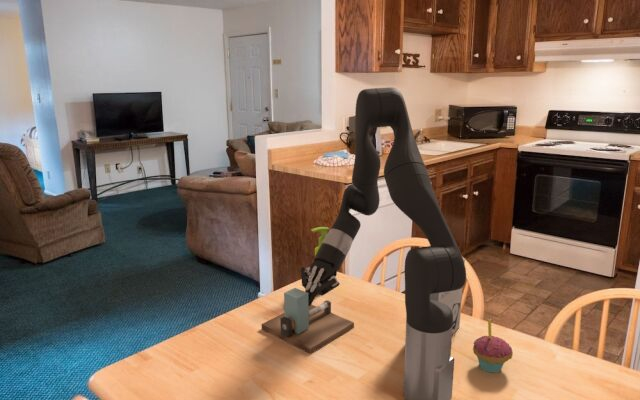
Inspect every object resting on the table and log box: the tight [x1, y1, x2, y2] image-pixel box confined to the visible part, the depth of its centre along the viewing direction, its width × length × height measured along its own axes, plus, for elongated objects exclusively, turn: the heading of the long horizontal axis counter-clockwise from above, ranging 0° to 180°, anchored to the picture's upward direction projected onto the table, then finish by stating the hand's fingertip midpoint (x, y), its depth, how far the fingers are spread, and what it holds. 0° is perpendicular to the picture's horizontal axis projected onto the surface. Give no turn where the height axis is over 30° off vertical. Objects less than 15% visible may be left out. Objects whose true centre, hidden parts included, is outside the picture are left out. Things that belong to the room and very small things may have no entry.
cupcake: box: [472, 315, 513, 374], centre depth 111 cm, size 9×8×12 cm
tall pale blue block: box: [283, 287, 309, 334], centre depth 126 cm, size 5×4×10 cm
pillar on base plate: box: [261, 299, 355, 355], centre depth 130 cm, size 18×17×6 cm
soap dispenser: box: [310, 226, 330, 284], centre depth 152 cm, size 6×7×20 cm
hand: (304, 305), depth 128 cm, fingers closed
